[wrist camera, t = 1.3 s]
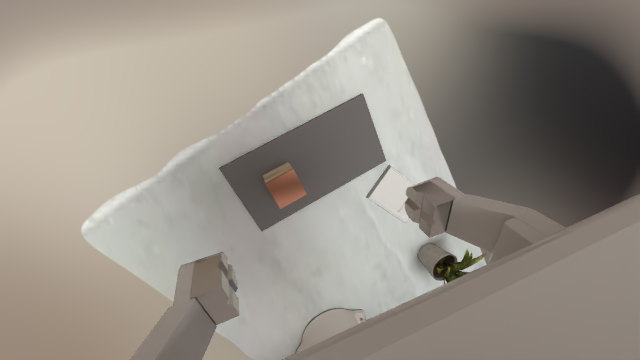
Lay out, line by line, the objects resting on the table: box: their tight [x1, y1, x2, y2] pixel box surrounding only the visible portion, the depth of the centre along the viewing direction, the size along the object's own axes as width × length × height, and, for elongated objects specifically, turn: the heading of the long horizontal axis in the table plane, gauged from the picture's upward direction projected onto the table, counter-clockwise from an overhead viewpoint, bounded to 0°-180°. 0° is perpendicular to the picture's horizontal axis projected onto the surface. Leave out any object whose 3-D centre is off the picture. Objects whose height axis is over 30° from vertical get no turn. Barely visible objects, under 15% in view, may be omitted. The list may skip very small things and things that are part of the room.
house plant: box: [418, 243, 486, 284], centre depth 55 cm, size 14×14×16 cm
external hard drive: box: [366, 165, 415, 223], centre depth 53 cm, size 2×8×12 cm
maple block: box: [263, 162, 307, 209], centre depth 42 cm, size 5×5×5 cm
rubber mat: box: [220, 94, 386, 231], centre depth 45 cm, size 14×28×1 cm, turn 115°
